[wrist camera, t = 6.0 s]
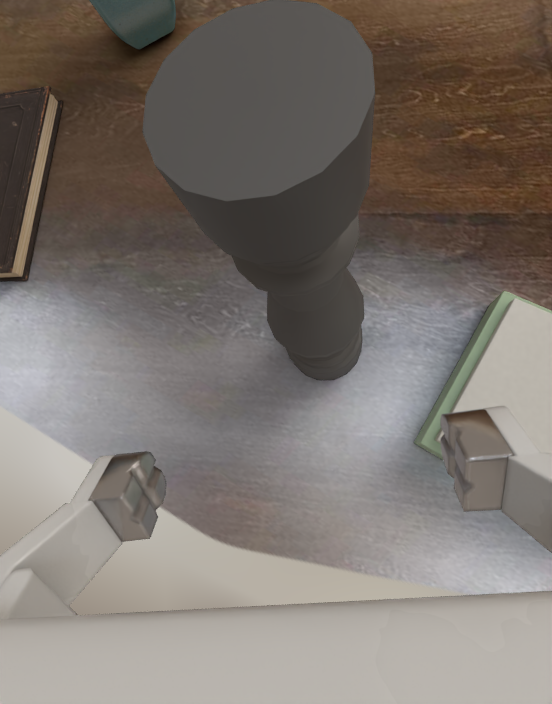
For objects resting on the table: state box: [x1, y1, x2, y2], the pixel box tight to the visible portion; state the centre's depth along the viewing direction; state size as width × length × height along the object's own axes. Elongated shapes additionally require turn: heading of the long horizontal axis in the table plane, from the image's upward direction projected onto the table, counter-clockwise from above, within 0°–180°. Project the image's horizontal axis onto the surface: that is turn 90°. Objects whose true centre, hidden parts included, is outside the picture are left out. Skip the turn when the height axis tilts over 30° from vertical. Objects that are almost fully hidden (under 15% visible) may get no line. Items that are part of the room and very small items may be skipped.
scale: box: [414, 291, 552, 460], centre depth 27 cm, size 13×12×4 cm
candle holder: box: [143, 0, 375, 380], centre depth 21 cm, size 6×6×25 cm
